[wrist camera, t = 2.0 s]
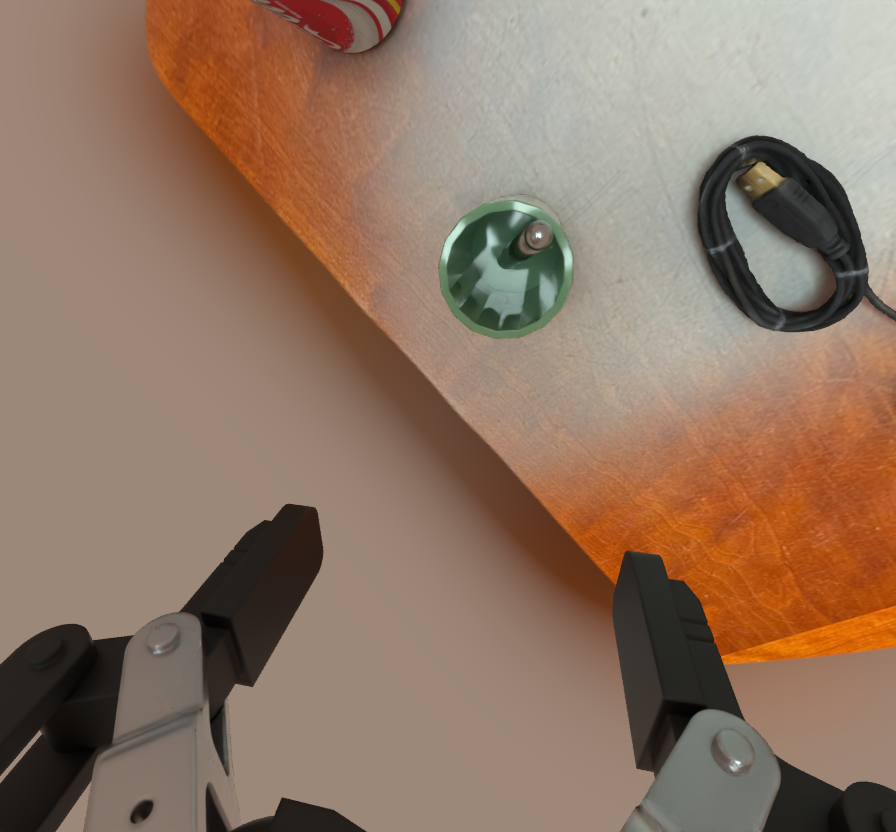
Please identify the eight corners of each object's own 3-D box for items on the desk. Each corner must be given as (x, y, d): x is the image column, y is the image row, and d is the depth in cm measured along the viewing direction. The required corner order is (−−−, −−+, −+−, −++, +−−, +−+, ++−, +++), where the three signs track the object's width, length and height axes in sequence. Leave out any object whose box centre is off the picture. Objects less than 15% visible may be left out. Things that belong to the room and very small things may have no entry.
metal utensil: (508, 272, 28) (501, 302, 20) (493, 259, 28) (480, 283, 19) (548, 225, 27) (560, 234, 18) (533, 211, 27) (538, 213, 18)
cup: (448, 254, 29) (413, 281, 21) (512, 171, 26) (498, 168, 19) (518, 315, 30) (508, 362, 22) (586, 241, 27) (602, 266, 20)
